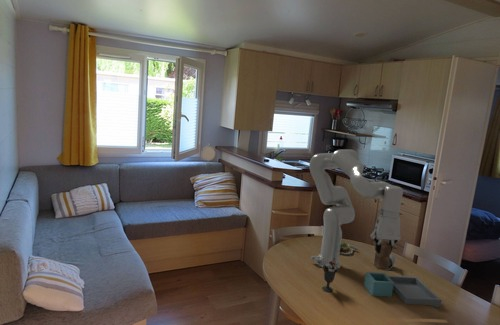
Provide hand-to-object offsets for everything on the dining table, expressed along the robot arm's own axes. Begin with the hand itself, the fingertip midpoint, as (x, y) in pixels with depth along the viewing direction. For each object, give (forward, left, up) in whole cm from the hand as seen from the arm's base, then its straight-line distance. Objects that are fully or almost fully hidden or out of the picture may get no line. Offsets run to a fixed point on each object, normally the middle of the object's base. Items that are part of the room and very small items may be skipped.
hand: (383, 252), depth 156 cm
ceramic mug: (+16, +27, -20) cm, 37 cm away
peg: (0, 0, -7) cm, 7 cm away
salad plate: (-3, +48, -20) cm, 52 cm away
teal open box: (0, 0, -20) cm, 20 cm away
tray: (+16, 0, -20) cm, 25 cm away
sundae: (-23, +1, -20) cm, 30 cm away
